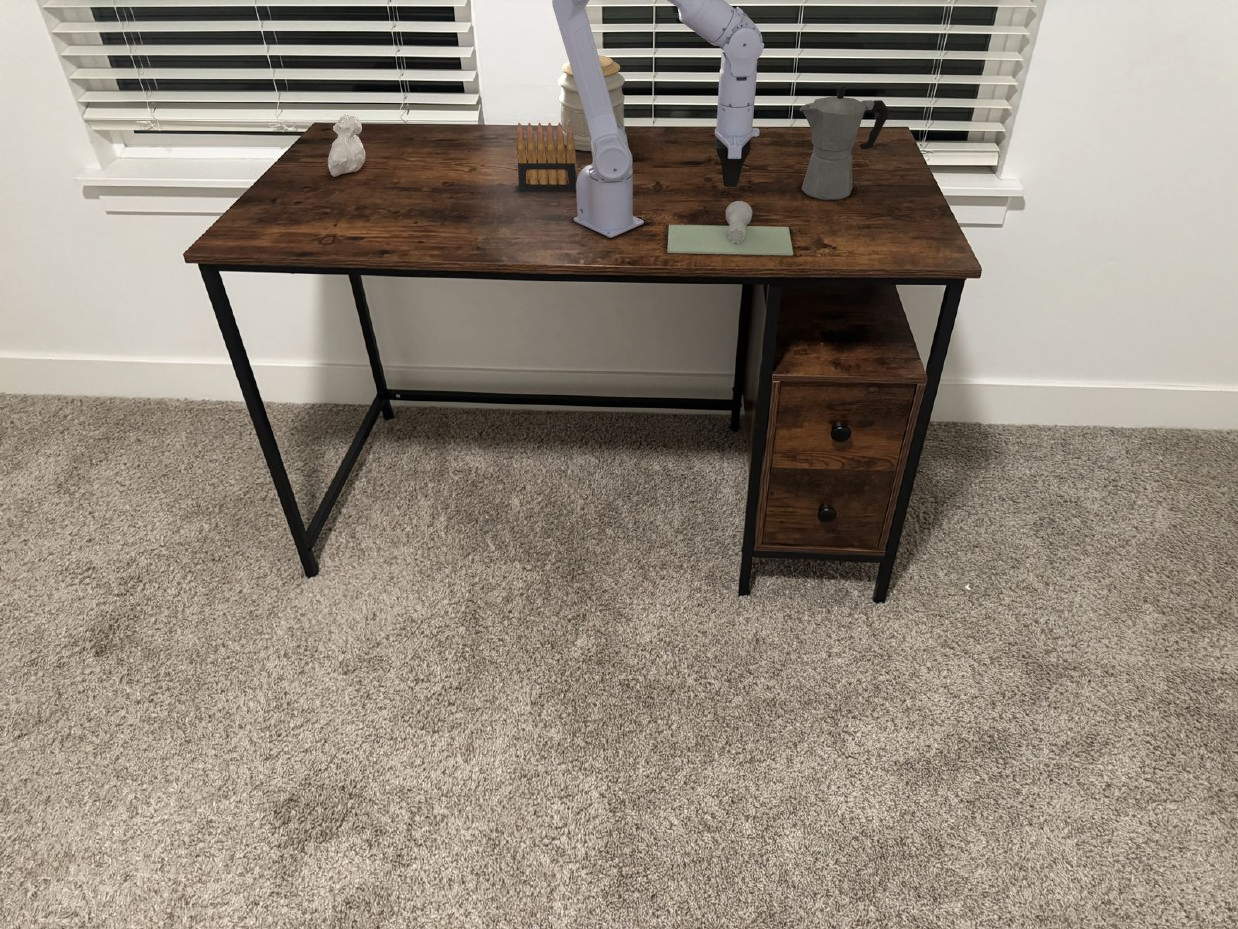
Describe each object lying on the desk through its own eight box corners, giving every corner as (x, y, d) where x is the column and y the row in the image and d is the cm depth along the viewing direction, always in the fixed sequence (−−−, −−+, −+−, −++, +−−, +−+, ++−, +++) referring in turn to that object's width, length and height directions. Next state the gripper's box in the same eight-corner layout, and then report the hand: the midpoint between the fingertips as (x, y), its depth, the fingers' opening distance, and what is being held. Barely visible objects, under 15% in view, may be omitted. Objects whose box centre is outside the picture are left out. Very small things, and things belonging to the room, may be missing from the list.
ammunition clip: (578, 186, 163) (575, 120, 155) (577, 190, 162) (574, 124, 154) (520, 186, 163) (514, 120, 156) (518, 190, 162) (513, 124, 154)
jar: (624, 152, 176) (624, 57, 164) (559, 152, 176) (554, 58, 164) (625, 129, 185) (624, 38, 174) (563, 129, 186) (558, 38, 174)
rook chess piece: (750, 197, 146) (747, 222, 140) (754, 221, 148) (752, 246, 143) (723, 201, 147) (719, 226, 141) (728, 225, 150) (724, 251, 144)
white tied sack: (344, 193, 167) (370, 146, 161) (307, 168, 165) (332, 120, 159) (362, 168, 176) (388, 123, 170) (327, 145, 174) (352, 98, 168)
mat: (667, 252, 142) (667, 250, 142) (668, 226, 150) (668, 224, 150) (793, 255, 141) (793, 253, 141) (788, 228, 149) (788, 226, 148)
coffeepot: (795, 201, 157) (808, 96, 145) (785, 180, 164) (797, 78, 152) (881, 199, 157) (901, 94, 145) (868, 178, 164) (886, 76, 153)
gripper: (764, 117, 134) (756, 203, 142) (759, 86, 145) (752, 168, 153) (717, 117, 134) (712, 203, 143) (716, 86, 145) (711, 167, 154)
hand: (730, 185), depth 148 cm, fingers closed
